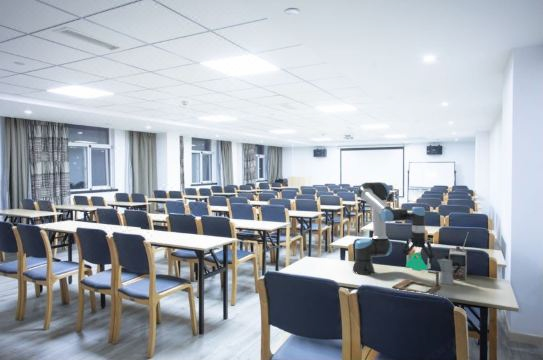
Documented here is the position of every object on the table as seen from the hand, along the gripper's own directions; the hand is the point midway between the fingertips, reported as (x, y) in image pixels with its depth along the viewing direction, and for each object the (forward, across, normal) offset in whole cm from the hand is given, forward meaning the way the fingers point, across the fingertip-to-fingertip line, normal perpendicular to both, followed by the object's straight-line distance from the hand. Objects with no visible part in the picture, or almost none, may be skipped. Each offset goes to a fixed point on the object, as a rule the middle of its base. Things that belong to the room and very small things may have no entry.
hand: (418, 266), depth 225 cm
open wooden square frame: (+13, -1, 0) cm, 14 cm away
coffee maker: (+14, +10, +24) cm, 30 cm away
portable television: (+14, +11, +44) cm, 48 cm away
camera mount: (+1, 0, -1) cm, 2 cm away
